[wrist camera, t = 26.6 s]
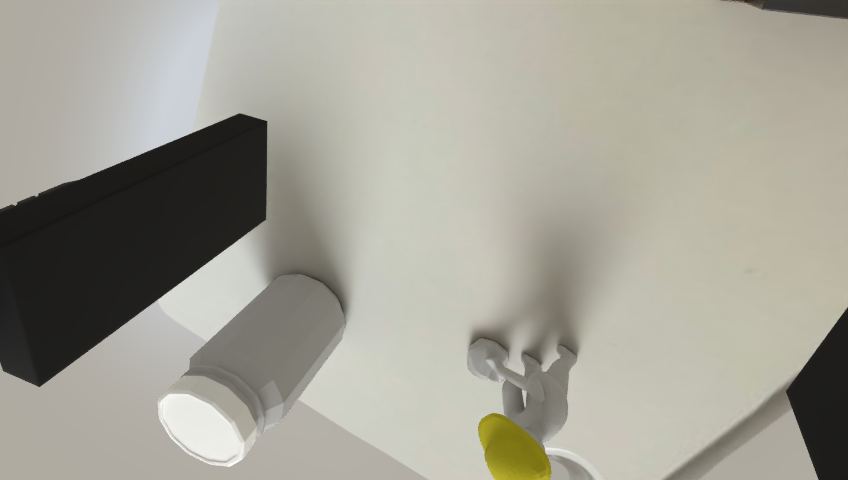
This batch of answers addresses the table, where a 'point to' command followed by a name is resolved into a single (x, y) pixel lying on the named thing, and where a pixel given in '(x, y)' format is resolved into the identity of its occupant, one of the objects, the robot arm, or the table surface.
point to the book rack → (803, 7)
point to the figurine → (521, 410)
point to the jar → (253, 370)
